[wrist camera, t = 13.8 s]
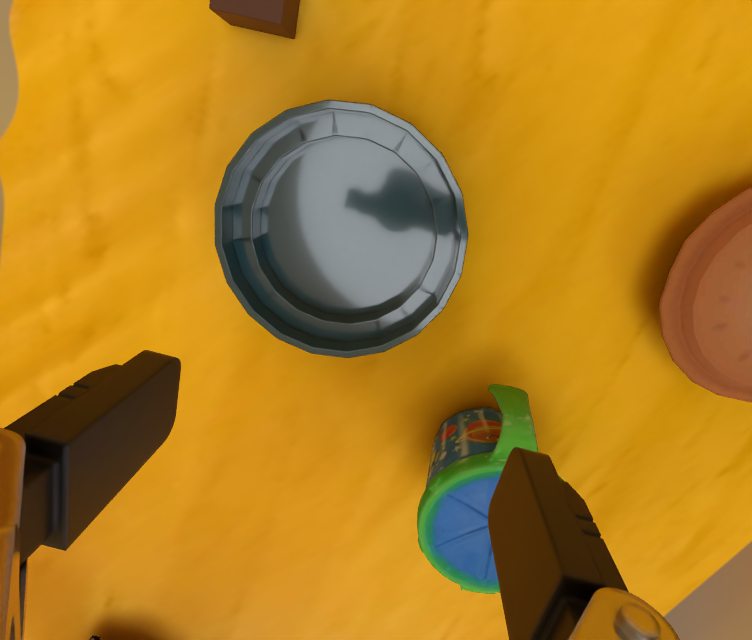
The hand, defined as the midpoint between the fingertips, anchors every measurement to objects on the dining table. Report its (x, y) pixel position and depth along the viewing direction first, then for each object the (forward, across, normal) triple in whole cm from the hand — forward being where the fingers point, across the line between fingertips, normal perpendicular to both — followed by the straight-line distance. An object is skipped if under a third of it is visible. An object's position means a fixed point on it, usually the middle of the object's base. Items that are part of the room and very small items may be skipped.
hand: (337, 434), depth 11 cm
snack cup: (+26, -11, +14) cm, 31 cm away
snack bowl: (+25, +4, 0) cm, 25 cm away
